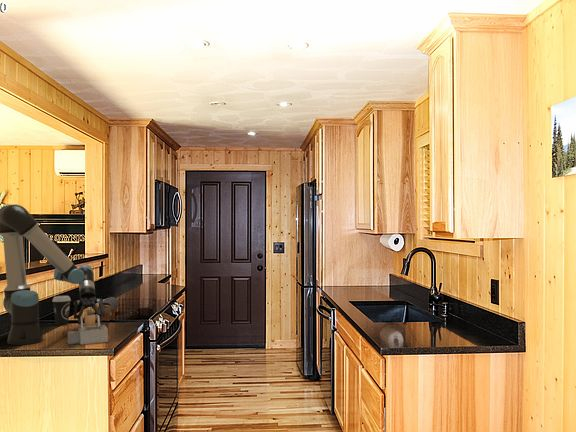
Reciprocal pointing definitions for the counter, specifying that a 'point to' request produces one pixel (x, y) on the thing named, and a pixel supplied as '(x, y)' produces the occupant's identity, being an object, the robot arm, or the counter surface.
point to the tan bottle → (89, 318)
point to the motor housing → (88, 335)
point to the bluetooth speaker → (111, 302)
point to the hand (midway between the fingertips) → (90, 328)
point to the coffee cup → (61, 309)
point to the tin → (108, 312)
